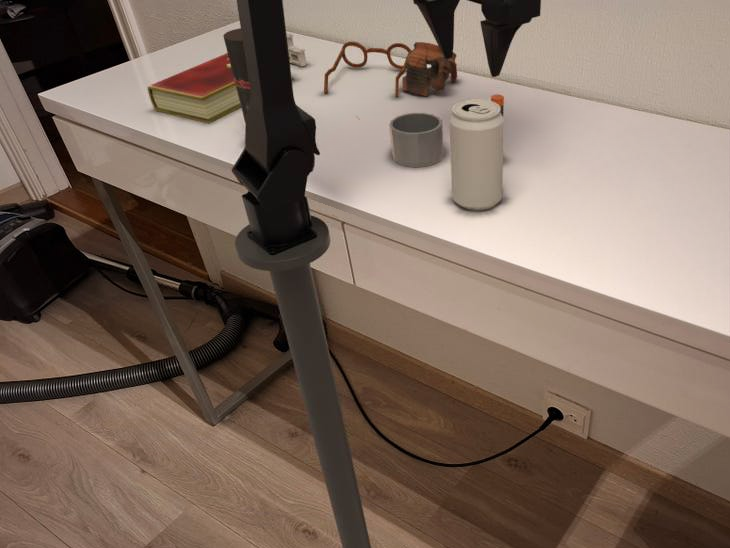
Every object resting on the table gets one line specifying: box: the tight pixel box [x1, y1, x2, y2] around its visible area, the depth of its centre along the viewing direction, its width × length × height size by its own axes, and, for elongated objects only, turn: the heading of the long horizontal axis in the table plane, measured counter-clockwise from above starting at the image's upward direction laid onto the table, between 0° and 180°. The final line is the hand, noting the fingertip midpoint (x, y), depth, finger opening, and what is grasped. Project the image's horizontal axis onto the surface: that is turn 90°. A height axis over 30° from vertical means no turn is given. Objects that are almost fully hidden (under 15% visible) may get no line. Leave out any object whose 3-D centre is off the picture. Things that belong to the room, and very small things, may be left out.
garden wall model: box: [286, 32, 307, 67], centre depth 125 cm, size 12×2×6 cm, turn 50°
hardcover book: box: [147, 52, 296, 124], centre depth 113 cm, size 12×21×4 cm, turn 153°
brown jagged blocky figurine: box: [401, 41, 458, 97], centre depth 114 cm, size 12×10×8 cm
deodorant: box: [222, 27, 251, 121], centre depth 95 cm, size 6×6×15 cm
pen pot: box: [388, 112, 445, 168], centre depth 94 cm, size 7×7×5 cm
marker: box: [490, 93, 505, 117], centre depth 91 cm, size 2×2×9 cm
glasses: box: [323, 41, 412, 98], centre depth 116 cm, size 13×13×5 cm
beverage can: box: [448, 98, 505, 211], centre depth 82 cm, size 6×6×12 cm
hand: (471, 67), depth 86 cm, fingers open, 9 cm apart
